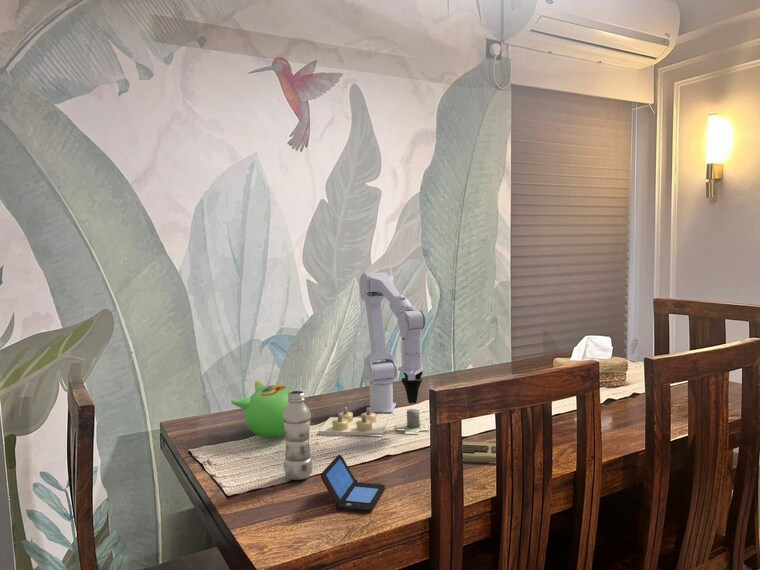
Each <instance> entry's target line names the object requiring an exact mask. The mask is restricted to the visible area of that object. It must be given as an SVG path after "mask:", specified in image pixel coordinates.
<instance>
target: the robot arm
mask: <svg viewBox="0 0 760 570" xmlns="http://www.w3.org/2000/svg"><path fill="white" fill-rule="evenodd" d="M394 278H395V277H394V276H393V274H392V273H391V272H390V271H386V272H384V271H383V272H368V273H366V272H363V273H362V274H361V275H360V277H359V281H358V282H359V283H358V285H359V293H360V298H361V300H362V301H364V302H365V309H366V318H367V325H368V334H369V341H370V342H369V343H370V350H371V351H370V353H369V354H368V355H367V356H366V357H365V358H364V360H363V365H364V366H363V375H364V379H365V380H366V382H367V383H369V396H370V397H369V401H370V403H369V404H370V405H369V407H370V412H372V413H390V414H391V413H393V412H394V410H395V408H396V405H397V402H394V397H393V395H394V392H393V389H394V388H393V383H395V379H397V377H398V375H399V371H400V372H403V375H404V377H401V382H402V385H403V387H404V389H405V392H406V398H407V402H408V404H417V401H418V397H419V396H418V394H419V389H420V386H421V384H422V382H423V378H421V377H422V375H423V371H424V367H423V336H422V335H423V332H422V330H424V329H425V327H426V321H427V320H426V317H425V316H426V315H425V312H424V311H423V310H422V309H418V308H415V307H414V306H413V305H412V303H411V302H410V301H409V299H408V298H407V297H406V296H405V295H402V294H400V293H399V292H398V290H397V289H396V287H395V280H394ZM384 299H387V300H388V302H389V304H388V305H389V309H390V311H391V312H392V313H393V314H394V316H395V318H396V319H397V327H398V329H399V336H400V338H401V363H402V364H401V366H399V367H398V365H397V362H396V358H395V356H394V354H392V353H391V352H389V351H388V350H387V342H386V335H385V325H384V317H383V307H382V301H383V300H384Z"/></svg>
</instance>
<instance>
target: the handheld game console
mask: <svg viewBox="0 0 760 570" xmlns="http://www.w3.org/2000/svg"><path fill="white" fill-rule="evenodd" d="M320 479H321V481H322V483H323V485H324V486H325V488H326V490H327V492H328V493H329V495H330V497H331V498H332V500H333V502H334V503H335V510H336V511H340V512H341V511H342V512H348V513H349V512H350V513H358V514H370V513H372V512H373V510H374V509H375V507H376V505H377V504H378V502H379V501H380V498H381V497H382V495H383V493H384V492H385V491H386V490H385V489H386V486H385V485H384V484H381V483H370V482H361V481H360V482H359V481H358V479H355V477H354V474H353V473H352V470H350V468H349V466H348V464H347V462H346V460H345V459H344V458H343V456H342V455H341V454H337V455H336V457H335V458H334V459H333V460H332V461H331V462H329V465H327V466H326V468H325V469H323V471H322V472H321V473H320Z"/></svg>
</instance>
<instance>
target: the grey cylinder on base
mask: <svg viewBox="0 0 760 570" xmlns="http://www.w3.org/2000/svg"><path fill="white" fill-rule="evenodd" d="M421 422H422V426H423V428H424V429H425V424H426V423H425V424H424V423H423V421H422V420H420V410H419V409H417V408H416V409H415V408H411V409H410V408H409V409H407V410H406V423H397V424H396V425H395V429H405V431H404V433H405V432H416V430H418V428H419V429H421V427H420V426H421ZM428 429H429V424H428Z"/></svg>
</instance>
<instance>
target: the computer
mask: <svg viewBox="0 0 760 570" xmlns="http://www.w3.org/2000/svg"><path fill="white" fill-rule="evenodd" d="M496 443H497V442H485V441H484V442H481V441H479V442H478V441H463V459H464V462H463V463H476V462H478V463H479V462H493V463H492V464H494V462H495V461H496ZM478 463H477V464H478ZM479 464H480V463H479Z"/></svg>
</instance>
